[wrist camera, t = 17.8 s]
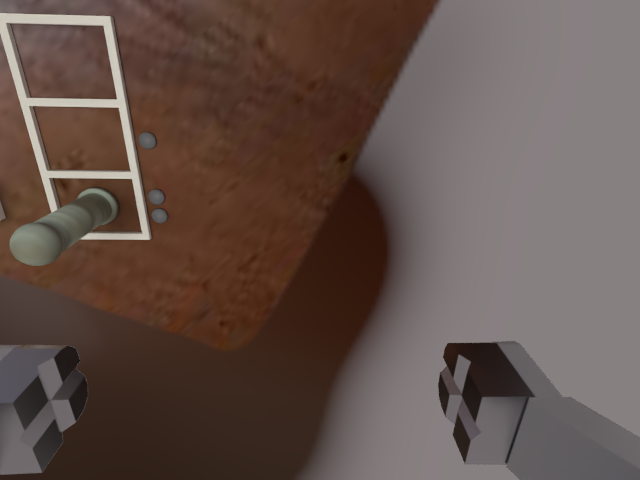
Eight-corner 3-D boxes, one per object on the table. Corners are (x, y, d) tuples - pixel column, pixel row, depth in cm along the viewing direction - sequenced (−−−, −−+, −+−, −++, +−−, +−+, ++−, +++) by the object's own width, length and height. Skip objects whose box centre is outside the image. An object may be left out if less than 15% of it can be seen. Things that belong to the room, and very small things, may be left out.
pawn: (76, 187, 44) (-12, 230, 32) (115, 187, 44) (41, 230, 32) (85, 222, 46) (5, 275, 33) (122, 221, 46) (55, 275, 34)
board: (-1, 14, 37) (-6, 13, 36) (137, 17, 37) (134, 17, 37) (62, 237, 46) (59, 239, 46) (171, 237, 47) (169, 239, 46)
